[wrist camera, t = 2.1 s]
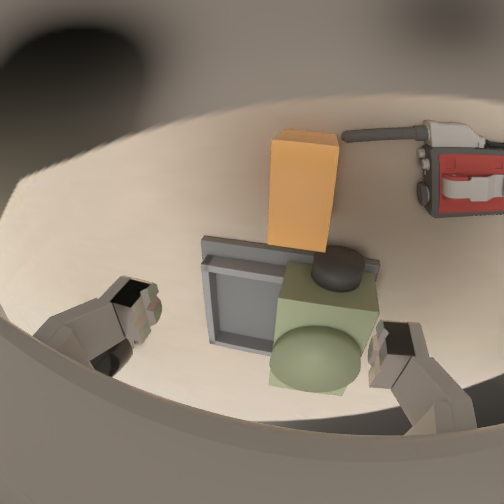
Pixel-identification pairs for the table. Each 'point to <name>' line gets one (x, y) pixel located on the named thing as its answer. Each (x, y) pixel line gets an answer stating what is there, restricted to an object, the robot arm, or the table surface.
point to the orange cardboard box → (301, 189)
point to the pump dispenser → (114, 358)
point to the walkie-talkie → (451, 167)
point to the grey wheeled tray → (292, 309)
